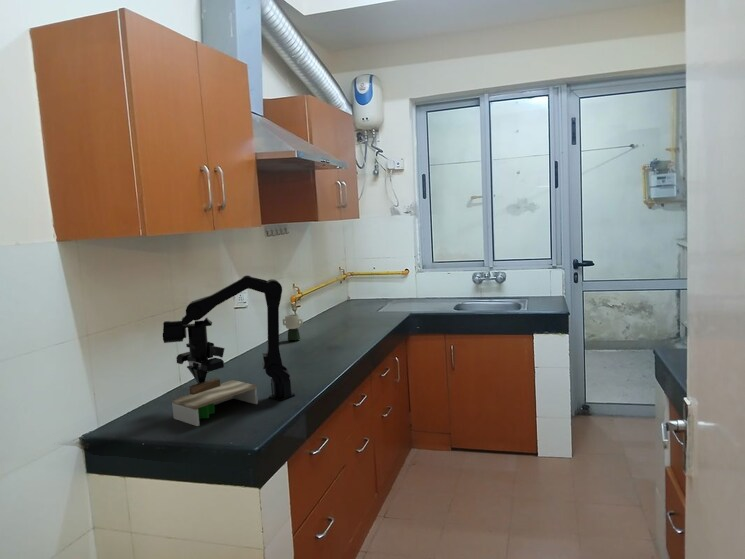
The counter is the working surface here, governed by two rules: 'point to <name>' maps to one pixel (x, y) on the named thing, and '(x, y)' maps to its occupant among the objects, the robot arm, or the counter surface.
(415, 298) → the counter surface
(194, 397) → the lid
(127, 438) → the counter surface
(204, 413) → the pipe clamp
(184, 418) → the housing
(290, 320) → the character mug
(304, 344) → the counter surface
